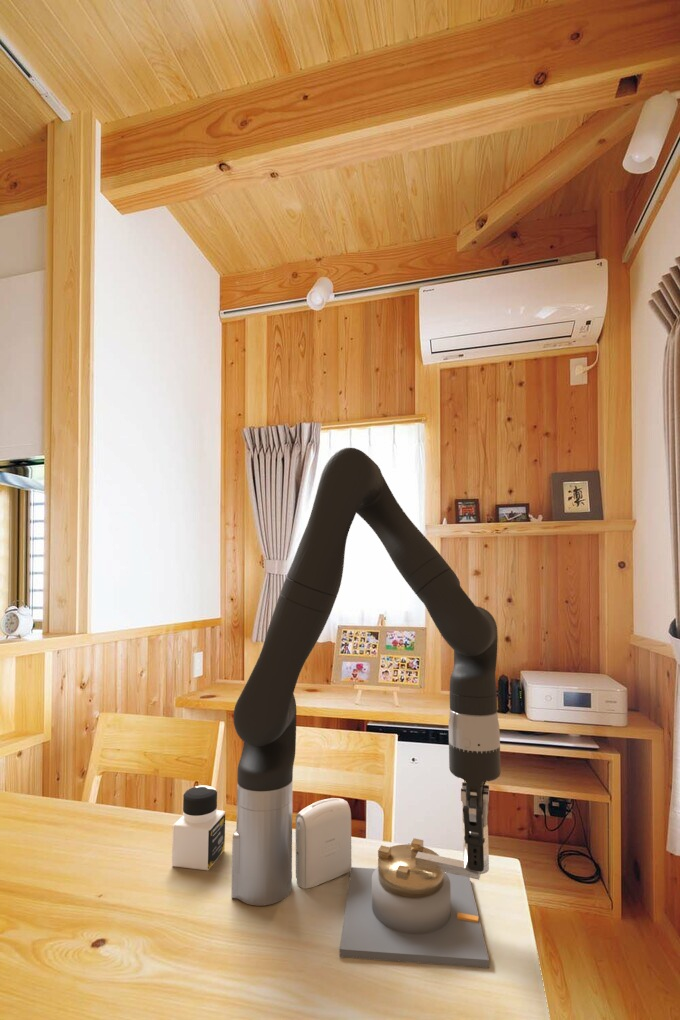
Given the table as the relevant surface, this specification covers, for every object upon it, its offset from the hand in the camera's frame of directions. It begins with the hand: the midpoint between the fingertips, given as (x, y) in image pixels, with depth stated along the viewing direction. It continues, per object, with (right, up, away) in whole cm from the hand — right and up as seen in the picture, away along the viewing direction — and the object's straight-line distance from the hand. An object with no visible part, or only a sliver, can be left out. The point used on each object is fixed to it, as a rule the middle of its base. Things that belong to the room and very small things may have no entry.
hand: (476, 861), depth 80 cm
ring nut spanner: (-6, -5, +2) cm, 8 cm away
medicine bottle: (-46, -12, +19) cm, 51 cm away
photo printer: (-23, -11, +13) cm, 29 cm away
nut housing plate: (-9, -10, +3) cm, 14 cm away
